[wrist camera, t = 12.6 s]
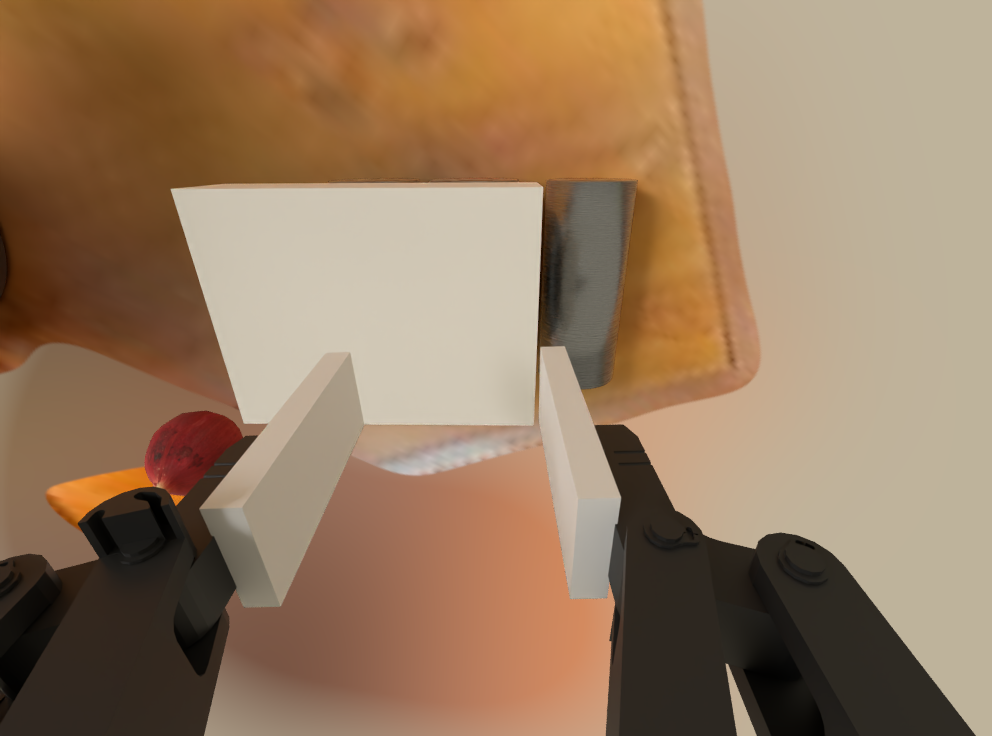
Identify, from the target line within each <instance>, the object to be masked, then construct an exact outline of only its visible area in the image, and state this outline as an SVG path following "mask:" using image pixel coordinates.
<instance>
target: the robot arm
mask: <svg viewBox="0 0 992 736" xmlns="http://www.w3.org/2000/svg"><path fill="white" fill-rule="evenodd" d="M6 275H7V263H6V254H5V249H4V245H3V241H2V238H1V235H0V297H1V295H2V293H3V290H4V287H5V282H6ZM539 425H540V430H541V436H542V442H543V447H544V453H545V459H546V464H547V470H548V475H549V481H550V487H551V492H552V499H553V504H554V510H555V515H556V522H557V527H558V533H559V539H560V544H561V550H562V556H563V561H564V567H565V573H566V579H567V584H568V590H569V596H570V599H591V598H592V599H594V598H595V599H596V598H607V595H608V588H609V582H610V585H611V589H612V593H613V596H614V600H615V608H614V615H613V621H612V628H611V634H610V641H612V643H611V659H610V676H609V692H608V708H607V724H606V736H737V733H736V727H735V721H734V715H733V708H732V702H731V696H730V690H729V683H728V677H727V671H726V664H728V665H729V667H730V670H731V672H732V675H733V677H734V680H735V682H736V685H737V687H738V689H739V692H740V695H741V697H742V700H743V702H744V705H745V707H746V710H747V712H748V715H749V717H750V720H751V722H752V725H753V727H754V730H755V732H756V734H757V736H976V735H975V734H974V733H973V732H972V730H971V729H970V728H969V726H968V725H967V724H966V722H965V721H964V720H963V719H962V717H961V716H960V715H959V714H958V712H957V711H956V710H955V708H954V707H953V706H952V704H951V703H950V702H949V701H948V699H947V698H946V697H945V695H943V693H942V692H941V690H940V689H939V688H938V686H937V685H936V684H935V682H934V681H933V680H932V678H930V676H929V675H928V673H927V672H926V671H925V669H924V668H923V667H922V666H921V664H920V663H919V662H918V660H917V659H916V658H915V657H914V655H913V654H912V653H911V651H910V650H909V649H908V647H907V646H906V645H905V644H904V642H903V641H902V640H901V638H900V637H899V636H898V634H897V633H896V632H895V631H894V629H893V628H892V627H891V626H890V624H889V623H888V622H887V620H886V619H885V618H884V616H883V615H882V614H881V613H880V611H879V610H878V609H877V607H876V606H875V605H874V604H873V602H872V601H871V600H870V598H869V597H868V596H867V594H866V593H865V592H864V591H863V589H862V588H861V587H860V585H859V584H858V583H857V581H856V580H855V579H854V578H853V576H852V575H851V574H850V573H849V571H848V570H847V569H846V567H845V566H844V565H843V564H842V563H841V562H840V561H839V560H838V559H837V558H836V557H835V556H834V555H833V554H832V553H831V552H829V551H828V550H826V549H824V548H823V547H821V546H820V545H818V544H817V543H815V542H813V541H810V540H808V539H805V538H803V537H800V536H797V535H792V534H786V533H775V534H768V535H766V536H765V537H763V538H762V539H761V540H760V541H758V545H757V547H756V549H752V548H747V547H743V546H739V545H734V544H730V543H726V542H722V541H718V540H715V539H712V538H709V537H707V536H705V535H703V534H702V531H701V530H700V528H699V527H698V526H697V525H696V524H695V523H694V522H693V521H692V520H691V519H689V518H688V517H686V516H684V515H683V514H681V513H680V512H678V511H675V509H674V507H673V505H672V503H671V501H670V500H669V497H668V496H667V493H666V491H665V490H664V488H663V486H662V484H661V482H660V480H659V478H658V476H657V474H656V472H655V470H654V468H653V466H652V465H651V462H650V460H649V458H648V456H647V454H646V453H645V450H644V448H643V446H642V444H641V442H640V440H639V438H638V437H637V436H636V435H635V434H634V433H633V432H632V431H630V430H629V429H628V428H627V427H626V426H624V425H594V424H593V421H592V418H591V416H590V413H589V410H588V408H587V405H586V402H585V399H584V397H583V394H582V391H581V389H580V386H579V383H578V381H577V378H576V375H575V373H574V370H573V367H572V365H571V362H570V359H569V357H568V354H567V351H566V348H565V346H555V347H540V386H539ZM363 427H364V420H363V415H362V410H361V405H360V400H359V395H358V389H357V384H356V379H355V374H354V369H353V364H352V359H351V354H350V352H333V353H325V354H324V356H323V357H322V358H321V359H320V361H319V362H318V363H317V364H316V366H315V367H314V368H313V369H312V371H311V372H310V373H309V374H308V375H307V377H306V378H305V379H304V380H303V382H302V383H301V384H300V385H299V387H298V388H297V389H296V390H295V391H294V393H293V394H292V395H291V396H290V398H289V399H288V400H287V401H286V403H285V404H284V405H283V406H282V407H281V409H280V410H279V411H278V412H277V414H276V415H275V416H274V417H273V419H272V420H271V421H270V422H269V423H268V425H267V426H266V427H265V428H264V430H263V431H262V432H261V433H260V435H259V436H245V437H244V438H242V439H241V440H239V441H238V442H236V443H235V444H233V445H232V446H230V447H229V448H227V449H226V450H225V451H224V453H223V454H222V455H221V456H220V457H219V458H218V459H217V460H216V462H215V463H214V466H211V467H210V468H209V470H208V471H207V472H206V473H205V474H204V475H203V476H204V477H203V478H202V479H200V480H199V481H198V482H197V483H196V484H195V485H194V487H193V488H192V489H191V490H190V491H189V492H188V493H187V494H186V496H185V497H184V498H183V499H182V500H181V501H180V502H179V504H178V505H177V506H175V504H174V502H173V500H172V498H171V496H170V494H169V493H168V492H167V491H166V489H163V488H158V487H145V488H138V489H135V490H131V491H128V492H124V493H121V494H119V495H117V496H115V497H113V498H111V499H109V500H106V501H104V502H103V503H101V504H100V505H98V506H97V507H95V508H94V509H92V510H91V511H89V512H88V513H87V514H86V515H85V516H84V517H83V518H82V519H81V520H80V521H79V522H78V525H79V527H80V528H81V530H82V531H83V533H84V534H85V536H86V537H87V539H88V541H89V542H90V544H91V545H92V547H93V548H94V550H95V552H96V553H97V555H98V556H99V559H98V560H95V561H91V562H87V563H84V564H80V565H76V566H72V567H68V568H64V569H61V570H57V571H54V570H53V568H52V567H51V566H50V564H49V563H48V562H47V560H46V559H45V558H44V557H43V556H42V555H35V554H26V555H21V556H15V557H11V558H8V559H6V560H3V561H0V736H204V733H205V728H206V724H207V720H208V716H209V712H210V707H211V703H212V698H213V694H214V690H215V686H216V681H217V677H218V673H219V669H220V665H221V660H222V656H223V652H224V647H225V643H226V639H227V635H228V630H229V616H228V613H227V611H226V609H225V606H226V605H227V603H228V601H229V599H230V598H231V596H232V594H233V593H234V591H235V589H236V591H237V593H238V595H239V598H240V600H241V602H242V604H243V606H244V607H280V606H281V605H282V603H283V600H284V598H285V596H286V594H287V592H288V589H289V587H290V585H291V583H292V581H293V579H294V576H295V574H296V572H297V570H298V568H299V566H300V563H301V561H302V559H303V557H304V555H305V553H306V550H307V548H308V546H309V544H310V542H311V539H312V537H313V535H314V533H315V531H316V528H317V526H318V524H319V522H320V520H321V518H322V516H323V513H324V511H325V509H326V506H327V505H328V503H329V500H330V498H331V496H332V494H333V492H334V489H335V487H336V485H337V483H338V481H339V479H340V477H341V474H342V472H343V470H344V468H345V466H346V463H347V461H348V459H349V457H350V455H351V453H352V450H353V448H354V446H355V444H356V442H357V440H358V437H359V435H360V433H361V431H362V429H363ZM725 663H726V664H725Z"/></svg>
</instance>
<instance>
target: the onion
mask: <svg viewBox="0 0 992 736" xmlns="http://www.w3.org/2000/svg"><path fill="white" fill-rule="evenodd" d="M242 438H243V437H242V434H241V432H240V429H239V428H238V427H237V426H236V424H235V423H234V422H233V421H231V420H230V419H228V418H227V417H225V416H223V415H220V414H216V413H213V412H209V411H198V412H189V413H182V414H181V415H179V416H177V417H175V418H173V419H172V420H170V421H169V422H167V423H166V424H164V425H163V426H161V427H160V428H159V430H157V431H156V432H155V433H154V435H153V437H152V439H151V441H150V444H149V446H148V449H147V452H146V456H145V470H146V473H147V476H148V478H149V480H150V481H151V482H152V483H153V487H158V488H163V489H166V491H167V492H168V493H169V494H173V495H182V496H185V495H186V494H187V493H188V492H189V491H190V490H191V489H192V488H193V487H194V485H195V484H196V483H197V482H198V481H199V480H200V479H202V478H203V477H204V476H203V475H204V474H205V473H206V472H207V471H208V470H209V468H210V467H211V466H214V463H215V462H216V460H217V459H218V458H219V457H220V456H221V455H222V454H223V453H224V451H225V450H226V449H227V448H229V447H230V446H232V445H233V444H235V443H236V442H238V441H239V440H241V439H242Z"/></svg>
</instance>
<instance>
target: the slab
mask: <svg viewBox="0 0 992 736" xmlns="http://www.w3.org/2000/svg"><path fill="white" fill-rule="evenodd" d="M171 192H172V195H173V198H174V202H175V205H176V208H177V211H178V214H179V218H180V221H181V224H182V227H183V230H184V234H185V237H186V240H187V243H188V247H189V250H190V253H191V256H192V259H193V263H194V266H195V269H196V272H197V275H198V279H199V282H200V285H201V288H202V291H203V295H204V298H205V301H206V304H207V307H208V311H209V314H210V317H211V320H212V323H213V327H214V330H215V333H216V336H217V339H218V343H219V346H220V349H221V352H222V355H223V359H224V362H225V365H226V368H227V371H228V375H229V378H230V381H231V384H232V387H233V391H234V394H235V397H236V400H237V403H238V407H239V410H240V413H241V416H242V419H243V423H244V424H268V423H269V422H270V421H271V420H272V419H273V417H274V416H275V415H276V414H277V412H278V411H279V410H280V409H281V407H282V406H283V405H284V404H285V403H286V401H287V400H288V399H289V398H290V396H291V395H292V394H293V393H294V391H295V390H296V389H297V388H298V387H299V385H300V384H301V383H302V382H303V380H304V379H305V378H306V377H307V375H308V374H309V373H310V372H311V371H312V369H313V368H314V367H315V366H316V364H317V363H318V362H319V361H320V359H321V358H322V357H323V356H324V354H325V353H333V352H350V354H351V359H352V364H353V369H354V374H355V379H356V384H357V389H358V395H359V400H360V405H361V410H362V415H363V420H364V424H377V425H523V426H534V408H535V382H536V357H537V332H538V306H539V281H540V256H541V231H542V205H543V187H542V186H541V185H540V184H539V183H537V182H471V183H262V184H216V185H206V186H196V187H185V188H175V189H171Z"/></svg>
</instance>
